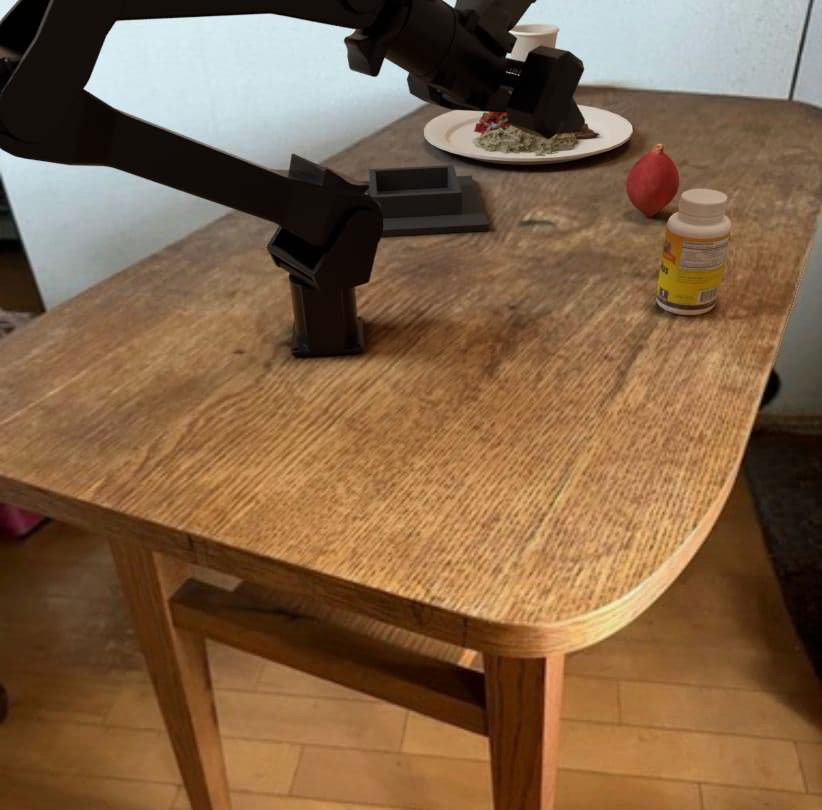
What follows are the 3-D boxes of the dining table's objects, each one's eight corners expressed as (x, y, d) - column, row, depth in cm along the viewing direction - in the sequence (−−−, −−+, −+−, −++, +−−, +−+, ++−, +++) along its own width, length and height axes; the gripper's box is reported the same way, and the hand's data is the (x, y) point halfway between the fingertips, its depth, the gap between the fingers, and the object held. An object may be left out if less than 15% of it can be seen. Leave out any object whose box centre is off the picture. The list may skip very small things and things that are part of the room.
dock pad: (488, 231, 98) (489, 201, 96) (349, 238, 98) (347, 209, 96) (471, 181, 112) (471, 154, 110) (349, 187, 112) (347, 161, 109)
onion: (616, 220, 99) (625, 147, 94) (630, 205, 103) (639, 134, 98) (666, 227, 97) (677, 153, 92) (679, 211, 101) (691, 139, 96)
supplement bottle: (658, 290, 84) (676, 182, 78) (717, 296, 83) (739, 187, 76) (650, 313, 80) (668, 203, 74) (712, 321, 79) (735, 208, 72)
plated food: (566, 187, 109) (568, 159, 107) (382, 152, 123) (381, 126, 121) (665, 130, 127) (669, 105, 125) (495, 105, 141) (496, 83, 139)
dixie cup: (530, 87, 151) (533, 21, 144) (565, 95, 145) (570, 27, 139) (495, 95, 147) (497, 28, 140) (529, 104, 142) (533, 35, 135)
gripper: (552, -63, 61) (665, 38, 71) (402, -76, 72) (518, 13, 83) (487, 99, 64) (603, 172, 75) (354, 62, 76) (471, 129, 87)
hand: (547, 116), depth 80 cm, fingers open, 9 cm apart
